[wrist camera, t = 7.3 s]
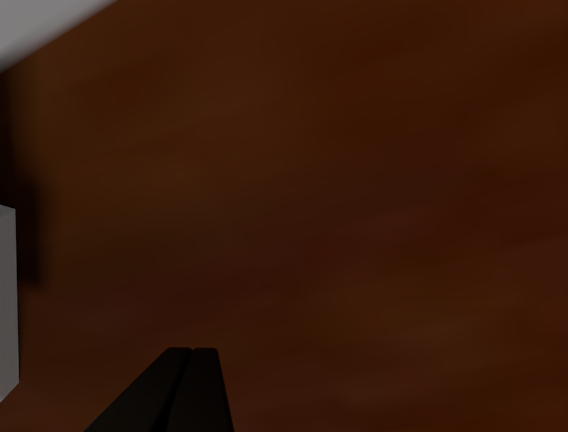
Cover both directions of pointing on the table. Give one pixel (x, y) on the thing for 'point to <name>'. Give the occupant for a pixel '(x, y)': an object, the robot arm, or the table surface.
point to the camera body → (8, 303)
